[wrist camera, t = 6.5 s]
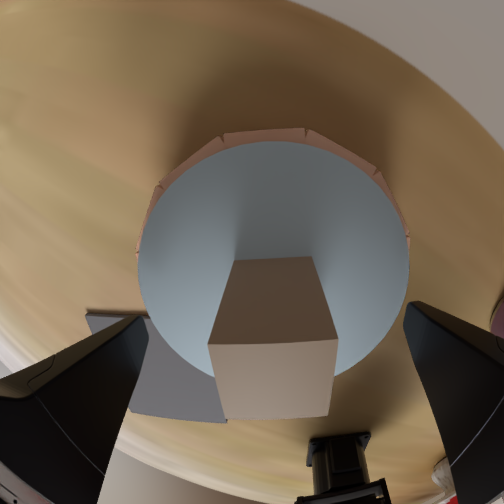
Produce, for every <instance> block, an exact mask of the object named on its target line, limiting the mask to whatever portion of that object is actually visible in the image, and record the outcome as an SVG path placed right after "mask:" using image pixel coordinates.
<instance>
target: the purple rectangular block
mask: <svg viewBox="0 0 504 504" xmlns="http://www.w3.org/2000/svg"><path fill="white" fill-rule="evenodd" d="M490 333H492V334H494V335H495V336H496V335H497V336H499V337H501V338H503V339H504V297H503V298H502V299H501V300H500V302H499V303H498V305H497V307H496V309H495V311H494V313H493V315H492V318H491V322H490Z"/></svg>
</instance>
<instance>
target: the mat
mask: <svg viewBox="0 0 504 504" xmlns="http://www.w3.org/2000/svg"><path fill="white" fill-rule="evenodd" d="M128 316H130V315H111V314H93V313H87V314H86V315H85V317H86V320H87V322H88V325H89V327H90V330H91V332H92V335H93V334H95V333H97V332H99V331H101V330H103V329H104V328H106V327H108V326H110V325H112V324H114V323H116V322H118V321H120V320H122V319H124V318H126V317H128ZM142 317H143V318H144V321H145V324H146V328H147V331H148V334H149V342H148V346H147V350H146V353H145V357H144V361H143V365H142V368H141V372H140V375H139V378H138V381H137V384H136V386H135V389H134V392H133V394H132V397H131V400H130V402H129V405H128V407H129V409H130V411H131V412H132V413H138V414H143V415H149V416H156V417H162V418H170V419H178V420H187V421H198V422H211V423H227V419H225V415H224V411H223V408H222V404H221V400H220V396H219V392H218V388H217V384H216V380H215V377H213V376H210V375H208V374H206V373H204V372H203V371H201V370H199V369H198V368H196V367H194V366H193V365H191V364H190V363H189V362H187V361H186V360H185V359H183V358H182V357H181V356H180V355H179V354H178V353H177V352H176V351H174V350H173V349H172V348H171V347H170V345H169V344H168V343H167V342H166V341H165V340H164V338H163V337H162V336H161V334H160V333H159V331H158V330H157V328H156V327H155V325H154V324H153V322H152V320H151V318H150V316H142Z"/></svg>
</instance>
